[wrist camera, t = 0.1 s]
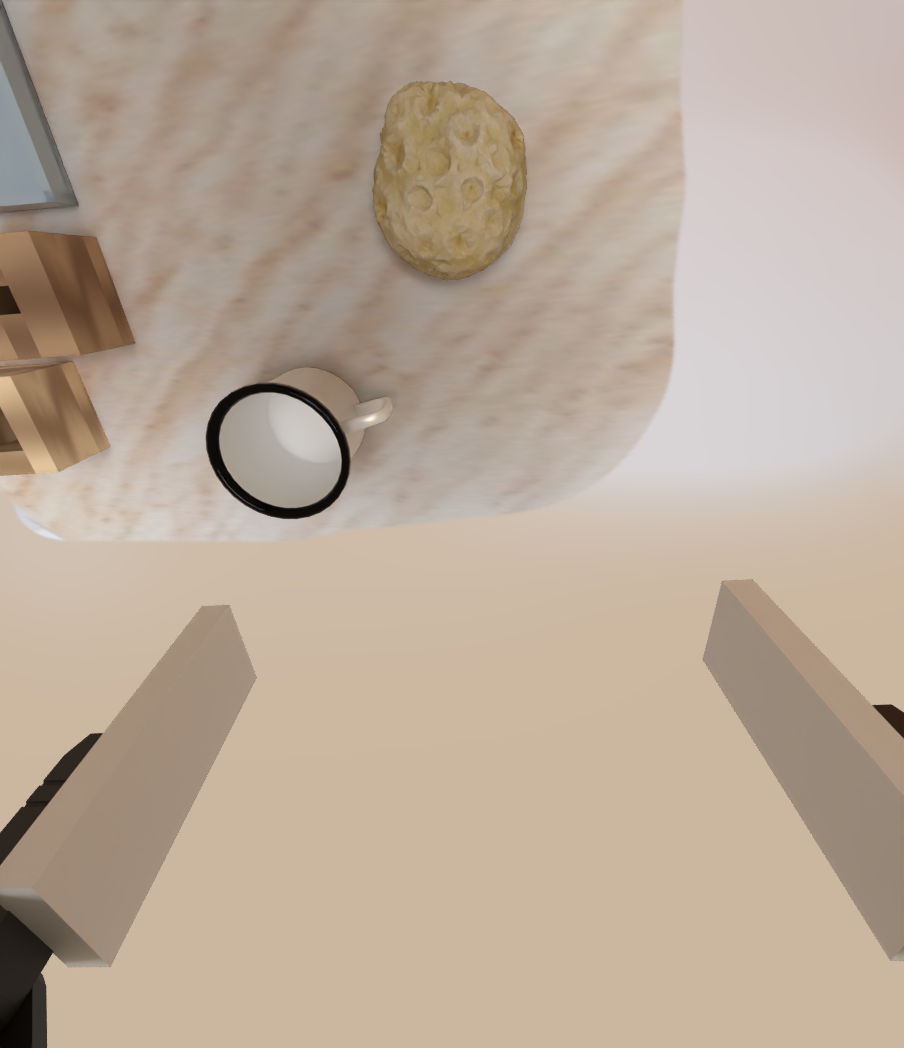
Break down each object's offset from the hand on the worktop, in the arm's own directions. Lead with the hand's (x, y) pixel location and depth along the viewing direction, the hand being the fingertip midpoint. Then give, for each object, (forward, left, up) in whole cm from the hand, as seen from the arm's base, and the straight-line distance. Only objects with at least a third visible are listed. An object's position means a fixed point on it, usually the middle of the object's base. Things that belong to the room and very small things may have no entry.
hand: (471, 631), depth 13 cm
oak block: (-1, -34, -28) cm, 44 cm away
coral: (-13, 0, -28) cm, 31 cm away
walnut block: (-9, -29, -28) cm, 41 cm away
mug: (+1, -11, -28) cm, 30 cm away
